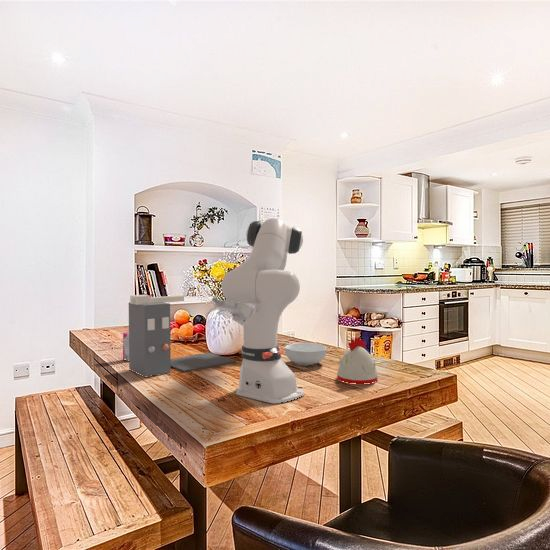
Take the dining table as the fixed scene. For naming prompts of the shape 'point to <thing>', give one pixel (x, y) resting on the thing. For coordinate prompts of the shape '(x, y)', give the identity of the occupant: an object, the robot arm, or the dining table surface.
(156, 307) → the switch panel
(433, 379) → the dining table surface
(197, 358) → the rubber mat
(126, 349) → the supplement box
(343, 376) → the beanie hat
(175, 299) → the paddle lever
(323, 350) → the cereal bowl
